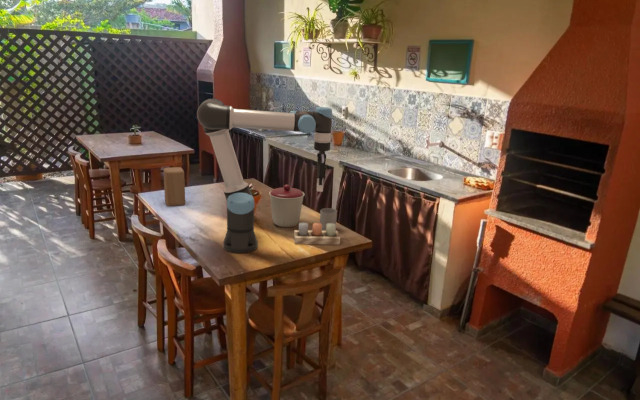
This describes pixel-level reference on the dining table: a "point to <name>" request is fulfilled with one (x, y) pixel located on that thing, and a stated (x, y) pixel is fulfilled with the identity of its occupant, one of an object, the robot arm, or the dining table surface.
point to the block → (174, 186)
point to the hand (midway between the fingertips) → (319, 190)
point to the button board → (316, 238)
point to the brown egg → (317, 229)
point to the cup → (327, 217)
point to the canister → (286, 205)
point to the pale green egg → (330, 229)
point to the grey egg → (303, 229)
